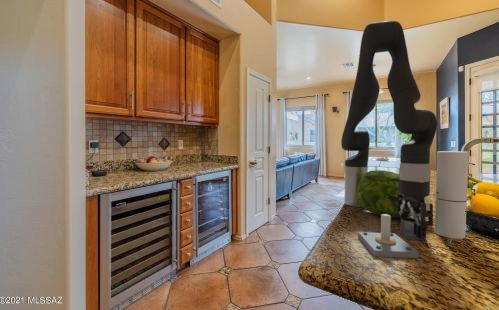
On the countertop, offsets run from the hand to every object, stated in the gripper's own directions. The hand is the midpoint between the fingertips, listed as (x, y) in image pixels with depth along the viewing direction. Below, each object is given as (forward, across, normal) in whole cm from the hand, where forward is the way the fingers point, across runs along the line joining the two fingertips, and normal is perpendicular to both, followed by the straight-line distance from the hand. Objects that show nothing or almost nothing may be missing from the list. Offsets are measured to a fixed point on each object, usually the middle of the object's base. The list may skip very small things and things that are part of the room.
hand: (412, 232), depth 71 cm
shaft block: (+1, +8, -11) cm, 14 cm away
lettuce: (+1, -20, +3) cm, 20 cm away
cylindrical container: (+1, -3, +12) cm, 12 cm away
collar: (+1, 0, 0) cm, 1 cm away
